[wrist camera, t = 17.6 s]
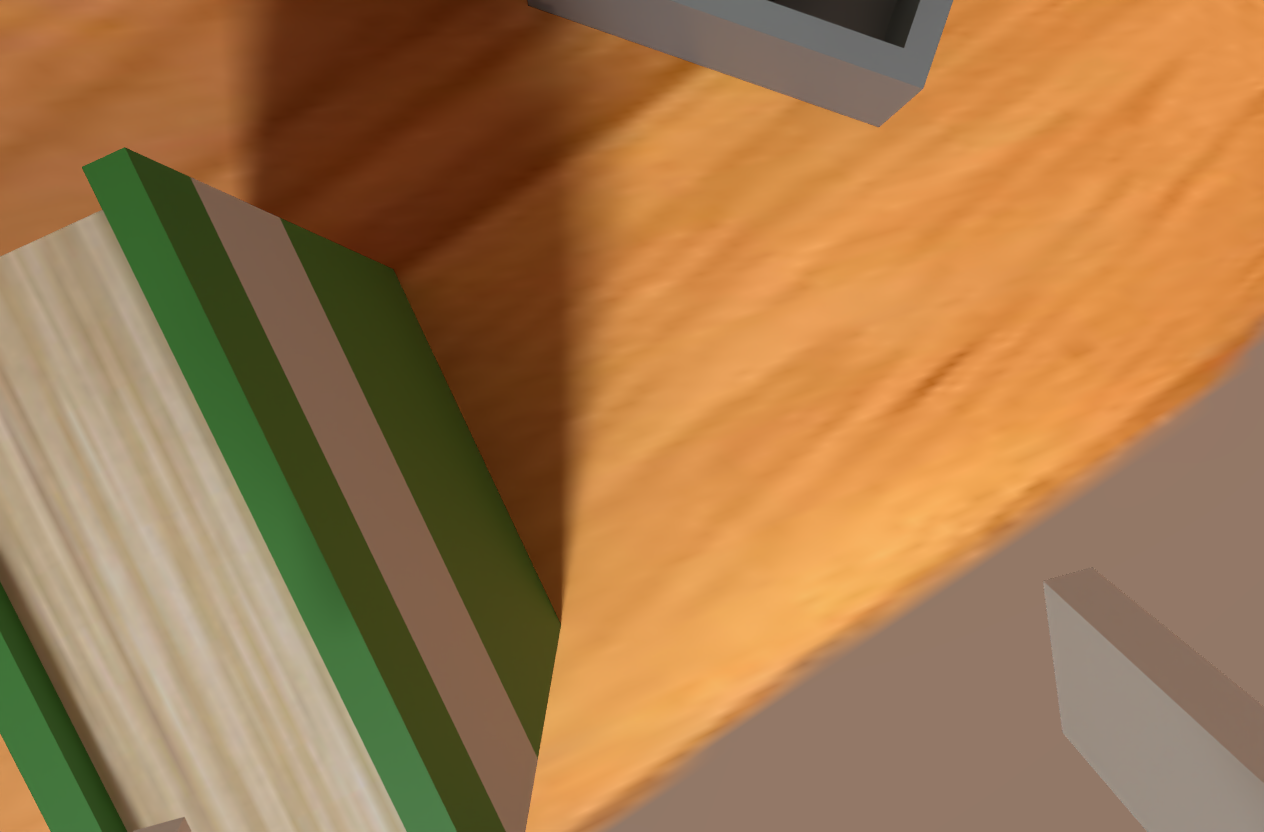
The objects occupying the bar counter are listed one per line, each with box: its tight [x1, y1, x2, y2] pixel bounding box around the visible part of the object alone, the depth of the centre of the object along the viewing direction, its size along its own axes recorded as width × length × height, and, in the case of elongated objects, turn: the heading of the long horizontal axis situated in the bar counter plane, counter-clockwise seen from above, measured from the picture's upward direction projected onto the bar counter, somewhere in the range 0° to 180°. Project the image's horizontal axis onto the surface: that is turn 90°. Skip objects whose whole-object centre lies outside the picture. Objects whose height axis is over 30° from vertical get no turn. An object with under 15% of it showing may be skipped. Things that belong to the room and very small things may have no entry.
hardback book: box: [0, 147, 561, 832], centre depth 31 cm, size 18×7×24 cm, turn 25°
